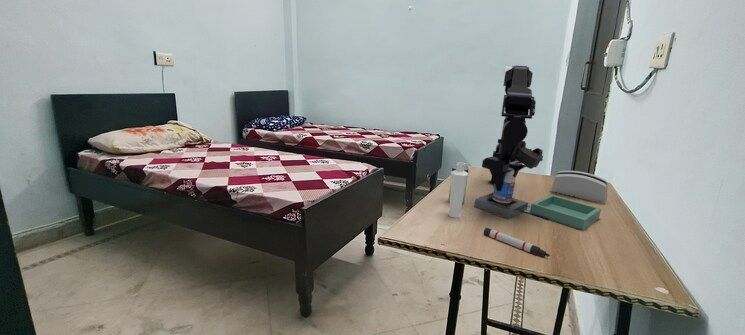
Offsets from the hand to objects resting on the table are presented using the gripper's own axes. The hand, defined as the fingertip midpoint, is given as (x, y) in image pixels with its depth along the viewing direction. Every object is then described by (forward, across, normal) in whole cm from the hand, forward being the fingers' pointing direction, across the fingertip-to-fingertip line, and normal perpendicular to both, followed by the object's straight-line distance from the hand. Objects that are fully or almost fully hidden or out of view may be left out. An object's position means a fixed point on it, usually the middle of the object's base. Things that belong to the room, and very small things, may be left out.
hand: (503, 189), depth 102 cm
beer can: (+6, -7, +11) cm, 15 cm away
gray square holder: (+6, 0, 0) cm, 6 cm away
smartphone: (+7, +7, -5) cm, 11 cm away
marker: (+7, -19, -14) cm, 25 cm away
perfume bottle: (+6, -16, +5) cm, 18 cm away
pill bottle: (+4, 0, 0) cm, 4 cm away
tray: (+6, +11, -14) cm, 19 cm away
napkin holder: (+7, +34, -10) cm, 36 cm away
